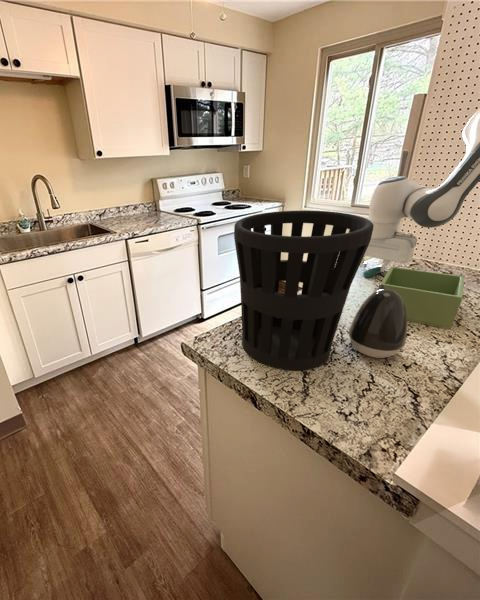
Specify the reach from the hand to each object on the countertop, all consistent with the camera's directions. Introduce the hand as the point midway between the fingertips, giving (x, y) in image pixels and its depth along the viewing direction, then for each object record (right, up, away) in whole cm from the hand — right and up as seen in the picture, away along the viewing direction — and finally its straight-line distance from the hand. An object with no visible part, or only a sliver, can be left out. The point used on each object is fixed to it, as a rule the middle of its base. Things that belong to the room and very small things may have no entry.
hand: (371, 269), depth 108 cm
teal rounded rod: (0, -1, 0) cm, 1 cm away
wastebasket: (-46, -22, -33) cm, 60 cm away
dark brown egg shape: (-28, -23, -37) cm, 52 cm away
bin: (-6, -13, -23) cm, 27 cm away
